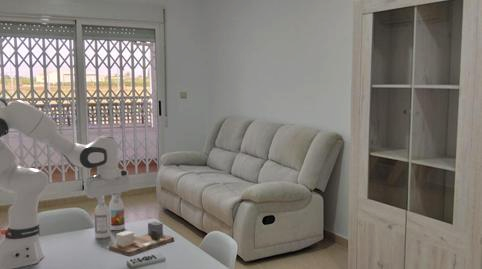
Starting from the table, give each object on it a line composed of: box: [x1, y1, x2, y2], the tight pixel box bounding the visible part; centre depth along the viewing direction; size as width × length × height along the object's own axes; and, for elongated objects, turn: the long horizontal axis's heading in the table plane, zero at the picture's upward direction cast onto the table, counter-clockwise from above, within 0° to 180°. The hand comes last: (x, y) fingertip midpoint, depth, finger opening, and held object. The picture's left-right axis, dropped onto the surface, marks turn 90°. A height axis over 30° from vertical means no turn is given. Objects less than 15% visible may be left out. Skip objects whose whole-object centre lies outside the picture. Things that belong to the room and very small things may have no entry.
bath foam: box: [93, 196, 111, 239], centre depth 224 cm, size 7×7×20 cm
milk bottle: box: [108, 194, 126, 231], centre depth 236 cm, size 8×8×20 cm
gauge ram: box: [115, 230, 139, 247], centre depth 208 cm, size 8×8×5 cm
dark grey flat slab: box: [151, 230, 160, 240], centre depth 214 cm, size 1×5×4 cm, turn 51°
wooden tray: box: [108, 233, 175, 257], centre depth 212 cm, size 26×14×2 cm, turn 141°
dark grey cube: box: [147, 221, 164, 236], centre depth 222 cm, size 4×6×6 cm, turn 51°
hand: (109, 204), depth 200 cm, fingers open, 6 cm apart
